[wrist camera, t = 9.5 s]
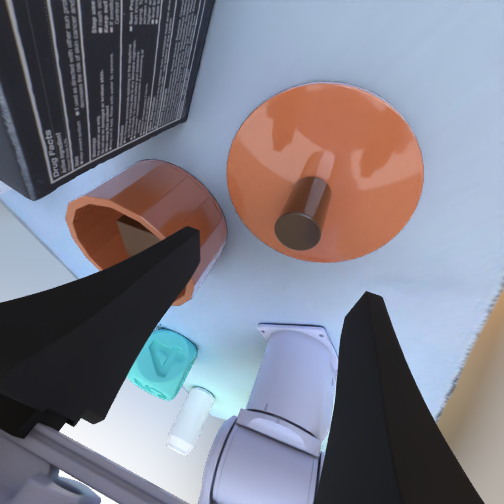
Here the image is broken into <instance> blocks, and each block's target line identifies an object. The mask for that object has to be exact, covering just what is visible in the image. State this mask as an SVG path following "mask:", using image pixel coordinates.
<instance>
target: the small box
mask: <svg viewBox="0 0 504 504" xmlns="http://www.w3.org/2000/svg"><path fill="white" fill-rule="evenodd" d="M212 4H213V0H0V181H2V182H3V183H5V184H6V185H8V186H9V187H11V188H12V189H14V190H16V191H17V192H19V193H20V194H22V195H23V196H25V197H26V198H28V199H30V200H32V201H35V200H38V199H40V198H42V197H44V196H46V195H48V194H50V193H51V192H53V191H54V190H56V189H57V188H58V187H59V186H61V185H63V184H65V183H67V182H69V181H70V180H72V179H74V178H75V177H77V176H78V175H81V174H82V173H84V172H86V171H88V170H90V169H92V168H94V167H96V166H97V165H98V164H100V163H103V162H105V161H107V160H109V159H111V158H114V157H115V156H117V155H119V154H121V153H123V152H124V151H127V150H128V149H130V148H133V147H134V146H136V145H138V144H140V143H142V142H144V141H146V140H148V139H149V138H151V137H154V136H156V135H158V134H159V133H161V132H163V131H165V130H167V129H170V128H172V127H174V126H176V125H178V124H180V123H183V122H185V121H186V118H187V113H188V109H189V105H190V101H191V97H192V92H193V87H194V83H195V79H196V75H197V70H198V67H199V61H200V57H201V53H202V49H203V44H204V39H205V35H206V31H207V26H208V22H209V18H210V13H211V9H212Z"/></svg>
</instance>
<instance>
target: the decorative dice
mask: <svg viewBox="0 0 504 504" xmlns="http://www.w3.org/2000/svg"><path fill="white" fill-rule="evenodd" d="M196 355H197V350H196V348H195V346H194V345H193V344H192V343H191V342H190V341H189V340H188V339H186V338H185V337H183V336H182V335H180V334H178V333H176V332H173V331H170V330H166V329H161V330H157V331H154V332H152V333H151V335H150V337H149V338H148V340H147V342H146V343H145V345H144V347H143V348H142V350H141V352H140V354H139V355H138V357H137V359H136V360H135V362H134V364H133V366H132V367H131V369H130V371H129V373H128V375H127V377H128V379H129V380H130V381H131V382H132V383H134V384H135V385H137V386H138V387H140V388H141V389H143V390H144V391H146V392H148V393H150V394H152V395H154V396H156V397H159V398H161V399H163V400H167V401H169V400H172V399H174V398H175V396H176V395H177V393H178V392H179V390H180V388H181V386H182V385H183V383H184V381H185V379H186V377H187V375H188V373H189V371H190V369H191V367H192V365H193V363H194V360H195V358H196Z"/></svg>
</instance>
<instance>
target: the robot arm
mask: <svg viewBox="0 0 504 504" xmlns="http://www.w3.org/2000/svg"><path fill="white" fill-rule="evenodd" d="M200 262H201V257H200V230H198V229H195V228H192V227H189V226H186V227H184V228H182V229H181V230H179V231H177V232H175V233H174V234H172V235H170V236H168V237H167V238H165V239H163V240H161V241H160V242H158V243H156V244H154V245H152V246H151V247H149V248H147V249H145V250H143V251H141V252H140V253H138V254H136V255H134V256H132V257H130V258H128V259H126V260H124V261H122V262H120V263H117V264H115V265H113V266H111V267H109V268H106V269H104V270H102V271H99V272H97V273H94V274H92V275H89V276H87V277H84V278H81V279H78V280H76V281H73V282H70V283H67V284H64V285H61V286H58V287H56V288H53V289H49V290H46V291H43V292H39V293H36V294H32V295H29V296H25V297H21V298H17V299H14V300H10V301H6V302H2V303H0V504H100V502H101V498H100V497H98V495H96V494H95V493H94V492H93V491H92V490H91V489H89V488H88V487H87V486H85V485H84V484H82V483H80V482H78V481H75V480H71V479H67V478H64V477H59V476H58V473H59V469H60V470H62V471H64V472H65V473H67V474H69V475H71V476H72V477H74V478H76V479H78V480H79V481H81V482H83V483H85V484H86V485H88V486H90V487H91V488H93V489H95V490H97V491H98V492H100V493H102V494H104V495H105V496H107V497H109V498H110V499H112V500H114V501H115V502H117V503H119V504H189V503H187V502H185V501H183V500H181V499H180V498H178V497H176V496H174V495H173V494H171V493H169V492H167V491H165V490H163V489H162V488H160V487H158V486H156V485H154V484H153V483H151V482H149V481H147V480H145V479H143V478H142V477H140V476H138V475H136V474H134V473H133V472H131V471H129V470H127V469H125V468H124V467H122V466H120V465H118V464H116V463H115V462H113V461H111V460H109V459H107V458H105V457H104V456H102V455H100V454H98V453H96V452H95V451H93V450H91V449H89V448H87V447H86V446H84V445H82V444H80V443H78V442H76V441H74V440H73V439H71V438H69V437H67V436H66V435H64V434H62V433H60V432H59V430H60V429H61V428H62V427H63V425H64V424H65V423H68V424H69V425H71V426H73V427H74V426H75V425H76V424H77V423H78V421H79V420H80V419H81V418H82V419H84V420H86V421H88V422H90V423H92V424H96V423H98V422H100V421H102V420H104V419H105V417H106V415H107V413H108V411H109V409H110V407H111V405H112V403H113V401H114V399H115V397H116V395H117V393H118V391H119V390H120V387H121V386H122V384H123V382H124V380H125V378H126V377H127V375H128V373H129V371H130V369H131V367H132V366H133V364H134V362H135V360H136V359H137V357H138V355H139V354H140V352H141V350H142V348H143V347H144V345H145V343H146V342H147V340H148V338H149V337H150V335H151V333H152V332H153V330H154V329H155V327H156V325H157V324H158V323H159V321H160V320H161V318H162V317H163V316H164V314H165V313H166V312H167V310H168V309H169V308H170V306H171V305H172V304H173V302H174V301H175V300H176V298H177V297H178V296H179V294H180V293H181V292H182V290H183V289H184V288H185V286H186V285H187V284H188V282H189V281H190V279H191V278H192V276H193V274H194V273H195V271H196V269H197V267H198V265H199V263H200ZM258 329H259V331H260V332H261V334H262V335H263V337H264V338H265V340H266V341H267V343H268V345H267V348H266V350H265V353H264V356H263V359H262V362H261V365H260V368H259V371H258V374H257V377H256V380H255V383H254V386H253V389H252V392H251V395H250V398H249V401H248V403H247V406H246V409H242V408H241V409H240V412H239V415H238V417H237V416H232V417H231V418H230V419H228V420H227V421H225V422H224V423H223V425H222V426H221V428H220V429H219V431H218V433H217V435H216V437H215V439H214V442H213V444H212V447H211V449H210V452H209V455H208V458H207V461H206V465H205V469H204V474H203V481H202V482H203V483H202V489H201V493H200V497H199V501H198V504H484V502H483V501H482V499H481V498H480V496H479V495H478V493H477V491H476V490H475V488H474V487H473V485H472V483H471V482H470V480H469V479H468V477H467V476H466V474H465V472H464V470H463V469H462V467H461V465H460V464H459V462H458V461H457V459H456V457H455V456H454V454H453V452H452V451H451V449H450V447H449V446H448V444H447V442H446V441H445V439H444V437H443V435H442V434H441V432H440V430H439V428H438V426H437V424H436V423H435V421H434V419H433V417H432V415H431V413H430V411H429V409H428V407H427V405H426V403H425V401H424V399H423V397H422V395H421V393H420V391H419V389H418V387H417V385H416V382H415V380H414V378H413V376H412V374H411V371H410V369H409V367H408V364H407V362H406V360H405V357H404V355H403V352H402V350H401V347H400V345H399V342H398V339H397V337H396V334H395V331H394V329H393V326H392V323H391V320H390V317H389V314H388V312H387V309H386V306H385V303H384V300H383V298H382V297H381V296H379V295H376V294H373V293H370V292H368V291H366V292H365V293H364V294H363V296H362V297H361V298H360V299H359V300H358V302H357V303H356V304H355V305H354V307H353V308H352V309H351V310H350V312H349V313H348V314H347V315H346V316H345V319H344V324H343V328H342V333H341V338H340V346H339V358H338V357H337V355H336V352H335V350H334V348H333V346H332V344H331V341H330V339H329V337H328V335H327V333H326V330H325V329H324V328H322V327H311V326H291V325H271V324H259V325H258ZM336 376H337V384H336V396H335V404H334V411H333V416H332V422H331V415H332V406H333V398H334V390H335V381H336ZM330 423H331V427H330ZM329 428H330V433H329V438H328V443H327V448H326V453H325V452H322V451H321V453H320V446H321V442H322V441H323V440H324V439H325V437H326V436H327V434H328V431H329ZM319 454H320V456H319Z"/></svg>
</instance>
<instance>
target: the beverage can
mask: <svg viewBox="0 0 504 504" xmlns="http://www.w3.org/2000/svg"><path fill="white" fill-rule="evenodd" d="M213 403H214V398H213V396H212V394H211V393H210V392H209V391H207V390H205V389H203V388H201V387H196V388H192V389H191V390H190V392H189V394H188V396H187V398H186V400H185V402H184V404H183V406H182V408H181V410H180V412H179V414H178V416H177V418H176V420H175V422H174V424H173V426H172V428H171V430H170V432H169V434H168V443H167V446H168V447H169V448H171V449H172V450H174V451H176V452H178V453H180V454H182V455H184V456H188V453H190V452H191V451H192V449H194V447H195V445H196V443H197V440H198V438H199V436H200V433H201V431H202V429H203V426H204V424H205V422H206V419H207V417H208V415H209V412H210V410H211V408H212V405H213Z"/></svg>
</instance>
